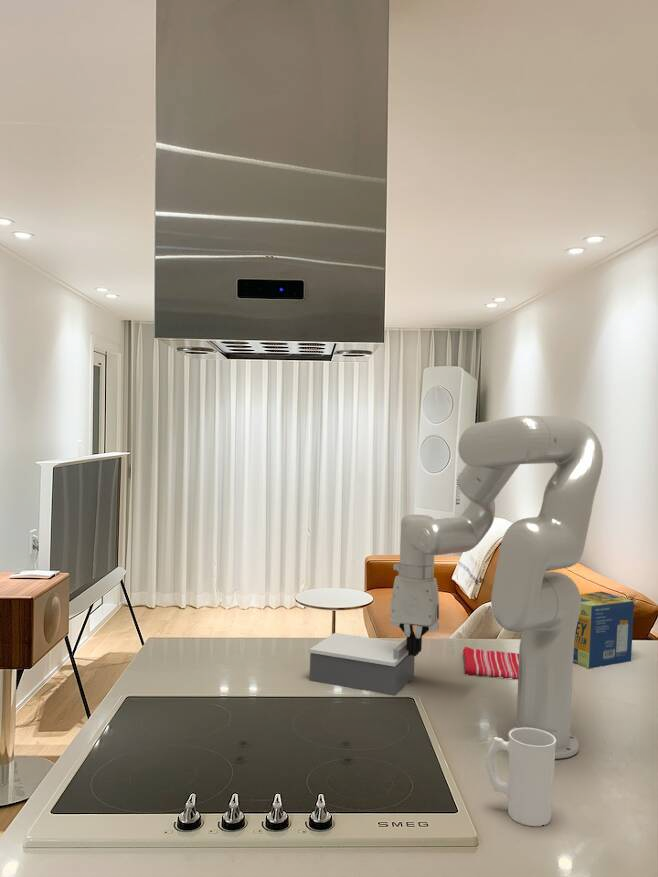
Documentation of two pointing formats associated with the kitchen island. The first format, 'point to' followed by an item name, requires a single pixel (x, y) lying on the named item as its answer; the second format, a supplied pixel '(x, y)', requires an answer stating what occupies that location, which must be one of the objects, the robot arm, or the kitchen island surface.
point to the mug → (526, 774)
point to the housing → (361, 673)
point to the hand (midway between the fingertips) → (413, 654)
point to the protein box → (603, 630)
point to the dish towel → (491, 663)
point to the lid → (362, 649)
